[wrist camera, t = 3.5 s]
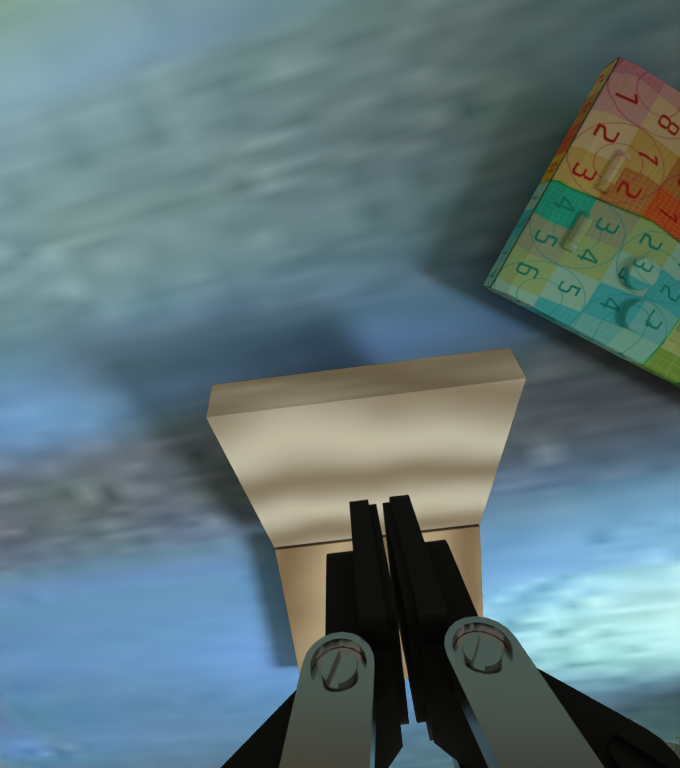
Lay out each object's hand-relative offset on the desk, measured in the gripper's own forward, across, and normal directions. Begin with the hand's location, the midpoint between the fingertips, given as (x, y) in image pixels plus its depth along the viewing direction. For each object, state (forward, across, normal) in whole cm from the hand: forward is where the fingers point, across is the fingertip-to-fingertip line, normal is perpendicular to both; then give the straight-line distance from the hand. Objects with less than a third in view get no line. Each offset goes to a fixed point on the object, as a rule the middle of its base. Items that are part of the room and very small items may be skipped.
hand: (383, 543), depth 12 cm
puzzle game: (+17, -20, -5) cm, 26 cm away
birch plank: (+13, 0, +3) cm, 13 cm away
